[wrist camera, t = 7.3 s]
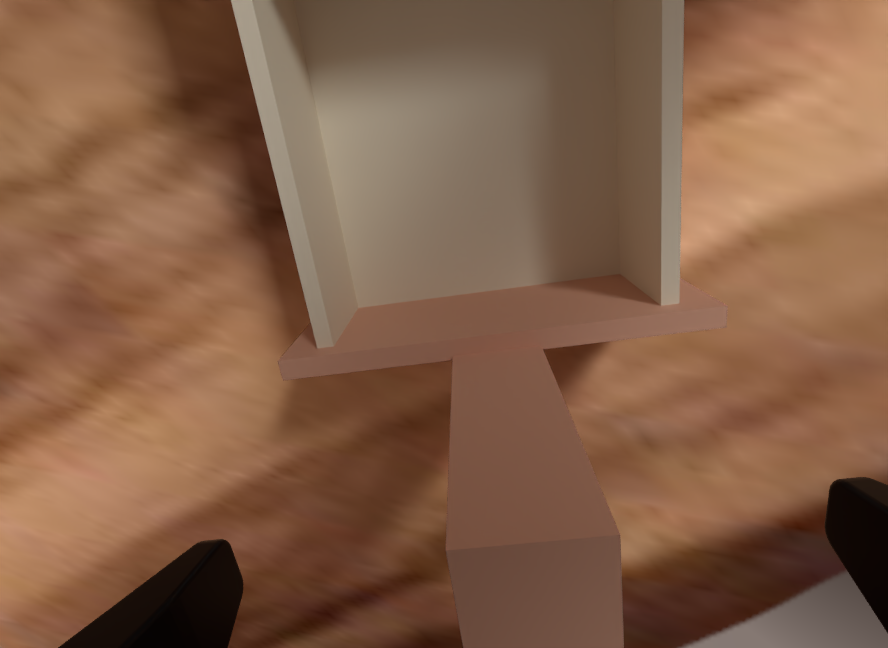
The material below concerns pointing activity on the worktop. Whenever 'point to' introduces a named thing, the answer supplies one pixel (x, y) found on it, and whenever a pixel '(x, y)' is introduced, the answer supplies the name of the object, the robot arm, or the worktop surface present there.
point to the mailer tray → (486, 251)
